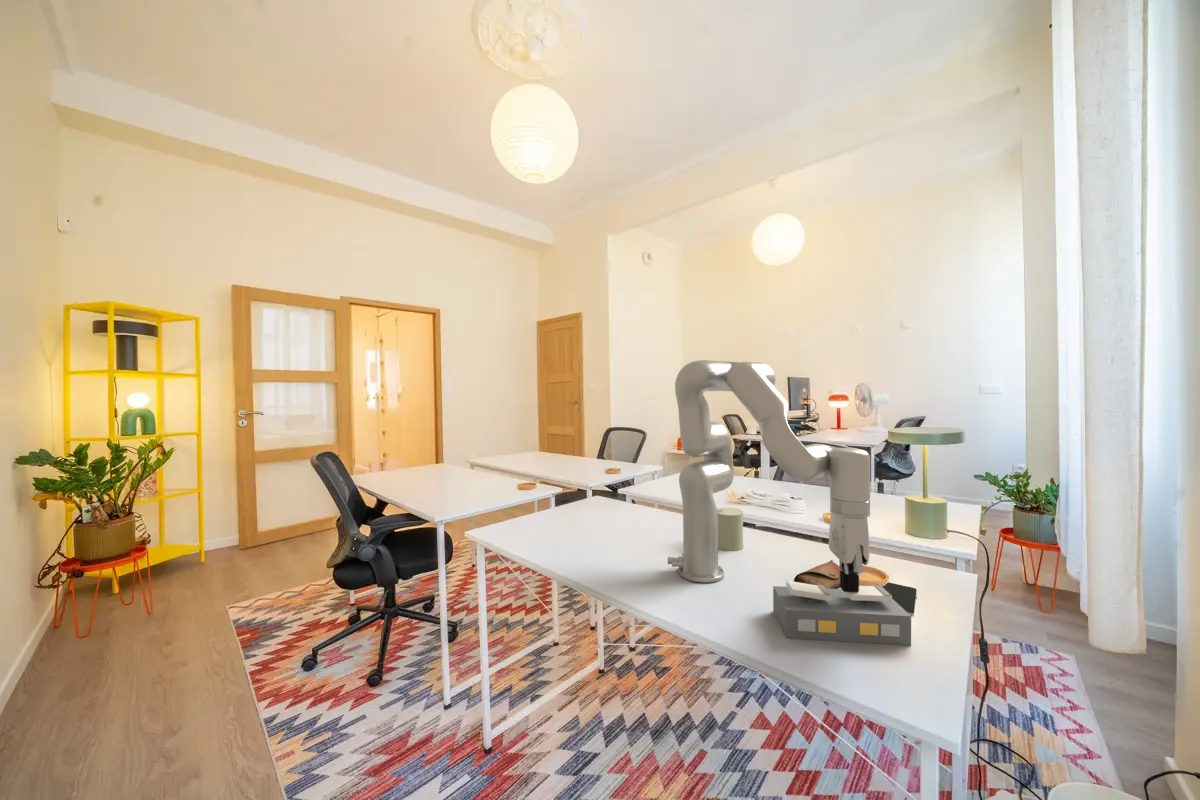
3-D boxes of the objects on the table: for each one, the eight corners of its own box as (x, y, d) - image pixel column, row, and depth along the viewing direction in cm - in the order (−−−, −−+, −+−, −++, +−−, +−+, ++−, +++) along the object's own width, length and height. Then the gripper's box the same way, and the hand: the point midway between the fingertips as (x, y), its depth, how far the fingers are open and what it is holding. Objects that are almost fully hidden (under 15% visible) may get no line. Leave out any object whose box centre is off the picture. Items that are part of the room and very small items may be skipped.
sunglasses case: (825, 598, 109) (811, 570, 112) (802, 602, 114) (789, 576, 117) (860, 578, 119) (847, 554, 122) (837, 584, 124) (825, 560, 127)
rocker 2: (851, 600, 93) (851, 593, 93) (842, 590, 98) (842, 584, 98) (892, 601, 92) (891, 595, 92) (881, 591, 97) (881, 585, 97)
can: (713, 540, 151) (712, 505, 151) (740, 541, 150) (740, 506, 150) (716, 550, 142) (716, 513, 142) (746, 551, 141) (745, 514, 140)
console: (786, 638, 92) (786, 607, 92) (773, 611, 103) (773, 583, 103) (911, 646, 89) (911, 613, 89) (884, 617, 100) (884, 588, 100)
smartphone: (873, 603, 105) (879, 580, 117) (873, 608, 105) (879, 584, 117) (914, 613, 100) (917, 588, 112) (914, 619, 100) (917, 593, 112)
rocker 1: (791, 594, 95) (792, 588, 95) (786, 585, 100) (787, 579, 99) (831, 601, 94) (831, 594, 94) (823, 591, 98) (824, 585, 98)
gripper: (819, 497, 103) (819, 574, 103) (844, 516, 88) (844, 606, 89) (854, 497, 102) (853, 576, 102) (885, 517, 87) (884, 609, 87)
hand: (849, 590), depth 95 cm, fingers closed
